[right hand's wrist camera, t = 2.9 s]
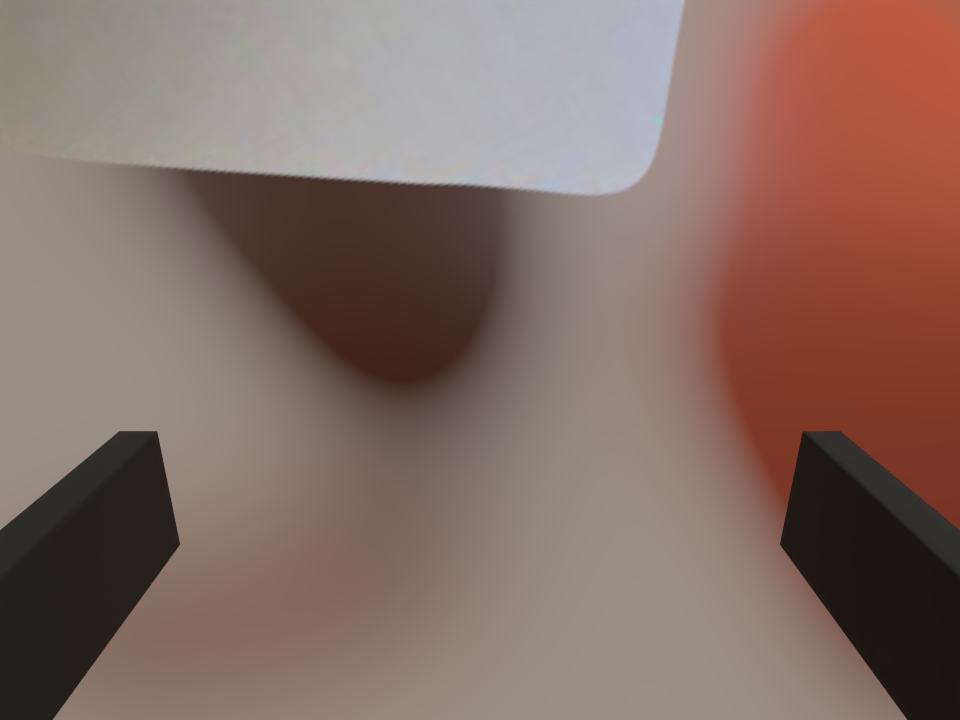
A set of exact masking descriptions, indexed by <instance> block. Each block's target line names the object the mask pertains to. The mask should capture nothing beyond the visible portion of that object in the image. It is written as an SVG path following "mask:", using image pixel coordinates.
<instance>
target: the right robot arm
mask: <svg viewBox="0 0 960 720" xmlns="http://www.w3.org/2000/svg"><path fill="white" fill-rule="evenodd" d="M179 545H180V542H179V537H178V532H177V527H176V522H175V517H174V513H173V507H172V503H171V497H170V493H169V488H168V483H167V478H166V473H165V468H164V463H163V458H162V453H161V448H160V443H159V438H158V433H157V431H119V432H118V433H117V434H116V435H114V436H113V437H112V438H111V439H110V440H108V441H107V442H106V443H105V444H104V445H102V446H101V447H100V448H99V449H98V450H96V451H95V452H94V453H93V454H92V455H90V456H89V457H88V458H87V459H86V460H84V461H83V462H82V463H81V464H80V465H78V466H77V467H76V468H75V469H74V470H72V471H71V472H70V473H69V474H67V475H66V476H65V477H64V478H63V479H61V480H60V481H59V482H58V483H57V484H55V485H54V486H53V487H52V488H51V489H49V490H48V491H47V492H46V493H45V494H43V495H42V496H41V497H40V498H39V499H37V500H36V501H35V502H34V503H33V504H31V505H30V506H29V507H28V508H27V509H25V510H24V511H23V512H22V513H21V514H19V515H18V516H17V517H16V518H15V519H13V520H12V521H11V522H10V523H8V524H7V525H6V526H5V527H4V528H2V529H1V530H0V720H53V718H54V717H55V716H56V714H57V713H58V712H59V710H60V709H61V707H62V706H63V705H64V703H65V702H66V700H67V699H68V698H69V696H70V695H71V694H72V692H73V691H74V690H75V688H76V687H77V685H78V684H79V683H80V681H81V680H82V678H83V677H84V676H85V674H86V673H87V672H88V670H89V669H90V668H91V666H92V665H93V663H94V662H95V661H96V659H97V658H98V657H99V655H100V654H101V652H102V651H103V650H104V648H105V647H106V646H107V644H108V643H109V641H110V640H111V639H112V637H113V636H114V634H115V633H116V632H117V630H118V629H119V628H120V626H121V625H122V624H123V622H124V621H125V619H126V618H127V617H128V615H129V614H130V613H131V611H132V610H133V608H134V607H135V606H136V604H137V603H138V602H139V600H140V599H141V597H142V596H143V595H144V593H145V592H146V591H147V589H148V588H149V586H150V585H151V584H152V582H153V581H154V580H155V578H156V577H157V575H158V574H159V573H160V571H161V570H162V569H163V567H164V566H165V564H166V563H167V562H168V560H169V559H170V558H171V556H172V555H173V553H174V552H175V551H176V549H177V548H178V547H179ZM780 545H781V547H782V548H783V549H784V551H785V552H786V553H787V555H788V556H789V557H790V559H791V560H792V562H793V563H794V564H795V566H796V567H797V569H798V570H799V571H800V573H801V574H802V575H803V577H804V578H805V580H806V581H807V582H808V584H809V585H810V586H811V588H812V589H813V591H814V592H815V593H816V595H817V596H818V597H819V599H820V600H821V602H822V603H823V604H824V606H825V607H826V608H827V610H828V611H829V612H830V614H831V615H832V617H833V618H834V619H835V621H836V622H837V624H838V625H839V626H840V628H841V629H842V630H843V632H844V633H845V635H846V636H847V637H848V639H849V640H850V641H851V643H852V644H853V646H854V647H855V648H856V650H857V651H858V652H859V654H860V655H861V657H862V658H863V659H864V661H865V662H866V663H867V665H868V666H869V668H870V669H871V670H872V672H873V673H874V674H875V676H876V677H877V679H878V680H879V681H880V683H881V684H882V685H883V687H884V688H885V689H886V691H887V692H888V694H889V695H890V696H891V698H892V699H893V701H894V702H895V703H896V705H897V706H898V707H899V709H900V710H901V712H902V713H903V714H904V716H905V717H906V718H907V720H960V530H959V529H958V528H956V527H955V526H954V525H953V524H951V523H950V522H949V521H948V520H947V519H945V518H944V517H943V516H942V515H941V514H939V513H938V512H937V511H936V510H935V509H933V508H932V507H931V506H930V505H929V504H927V503H926V502H925V501H924V500H923V499H921V498H920V497H919V496H918V495H917V494H915V493H914V492H913V491H912V490H911V489H909V488H908V487H907V486H906V485H905V484H903V483H902V482H901V481H900V480H899V479H897V478H896V477H895V476H894V475H893V474H891V473H890V472H889V471H888V470H886V469H885V468H884V467H883V466H882V465H880V464H879V463H878V462H877V461H876V460H874V459H873V458H872V457H871V456H870V455H868V454H867V453H866V452H865V451H864V450H862V449H861V448H860V447H859V446H858V445H856V444H855V443H854V442H853V441H852V440H850V439H849V438H848V437H847V436H846V435H844V434H843V433H842V432H841V431H803V433H802V438H801V443H800V448H799V453H798V458H797V463H796V468H795V473H794V478H793V483H792V488H791V493H790V497H789V503H788V507H787V512H786V517H785V522H784V527H783V532H782V537H781V542H780Z"/></svg>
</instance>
